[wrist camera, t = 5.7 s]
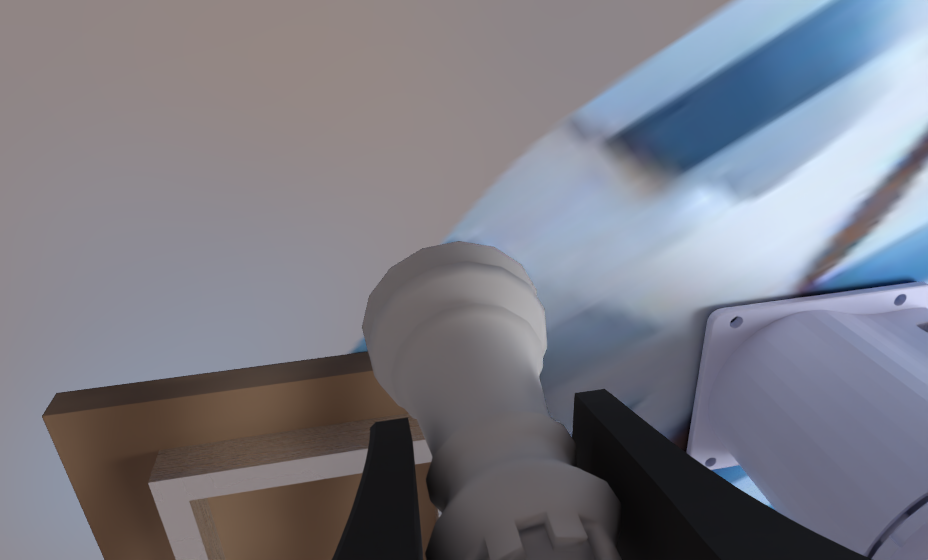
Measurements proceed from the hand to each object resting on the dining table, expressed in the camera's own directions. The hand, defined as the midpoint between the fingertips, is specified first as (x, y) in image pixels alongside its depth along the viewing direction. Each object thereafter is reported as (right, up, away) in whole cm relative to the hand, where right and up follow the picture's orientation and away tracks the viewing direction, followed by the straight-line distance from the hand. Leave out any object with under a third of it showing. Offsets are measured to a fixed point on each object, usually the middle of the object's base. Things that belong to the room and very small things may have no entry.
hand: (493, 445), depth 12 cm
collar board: (-6, -6, +13) cm, 15 cm away
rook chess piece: (-1, +2, +4) cm, 5 cm away
